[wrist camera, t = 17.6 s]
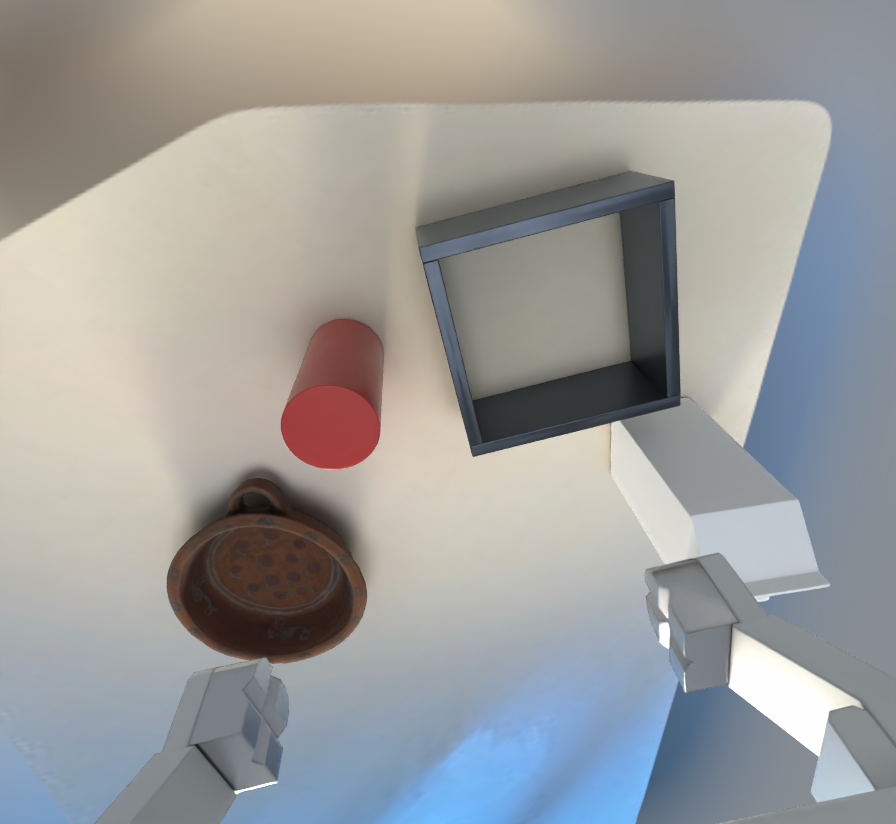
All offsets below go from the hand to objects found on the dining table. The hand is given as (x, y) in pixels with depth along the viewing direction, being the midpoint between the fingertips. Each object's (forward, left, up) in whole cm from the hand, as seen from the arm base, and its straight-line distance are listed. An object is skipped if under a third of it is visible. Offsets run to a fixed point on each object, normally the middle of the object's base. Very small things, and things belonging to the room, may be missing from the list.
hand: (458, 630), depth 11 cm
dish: (+25, -20, -34) cm, 46 cm away
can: (+6, -7, -33) cm, 35 cm away
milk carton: (+21, +17, -34) cm, 43 cm away
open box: (+6, +9, -33) cm, 35 cm away
